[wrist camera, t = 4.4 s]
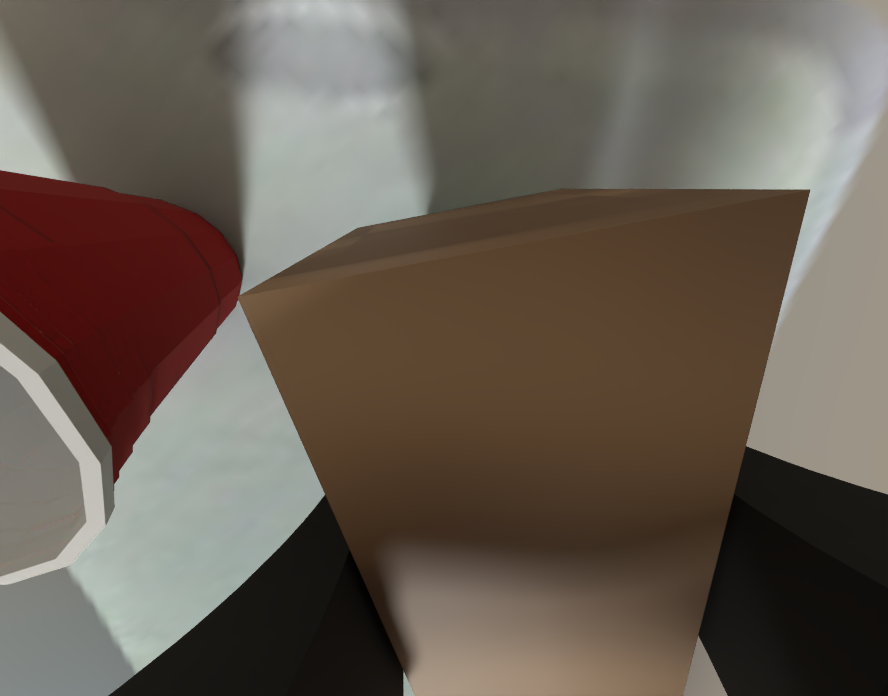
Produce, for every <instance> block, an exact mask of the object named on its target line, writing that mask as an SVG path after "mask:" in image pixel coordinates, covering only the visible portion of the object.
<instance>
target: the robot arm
mask: <svg viewBox="0 0 888 696" xmlns="http://www.w3.org/2000/svg"><path fill="white" fill-rule="evenodd" d="M698 636H699V638H700V639H701V641H702V643H703V645H704V647H705V649H706V651H707V653H708V655H709V657H710V659H711V662H712V663H713V666H714V668H715V670H716V672H717V674H718V676H719V678H720V680H721V682H722V684H723V687H724V688H725V691H726V693H727V695H728V696H888V495H887V494H884V493H881V492H877V491H873V490H871V489H867V488H864V487H861V486H857V485H854V484H851V483H848V482H845V481H842V480H839V479H836V478H833V477H829V476H827V475H823V474H820V473H817V472H814V471H811V470H808V469H805V468H803V467H800V466H797V465H794V464H791V463H788V462H786V461H783V460H780V459H778V458H775V457H773V456H770V455H767V454H765V453H762V452H760V451H757V450H754V449H752V448H749V447H747V446H746V447H745V451H744V455H743V459H742V463H741V467H740V471H739V475H738V479H737V483H736V487H735V491H734V495H733V499H732V503H731V507H730V511H729V515H728V519H727V523H726V527H725V531H724V535H723V539H722V543H721V547H720V551H719V555H718V559H717V562H716V566H715V570H714V574H713V578H712V582H711V586H710V590H709V594H708V598H707V602H706V606H705V610H704V614H703V618H702V622H701V626H700V630H699V634H698ZM109 696H403V668H402V666H401V663H400V661H399V659H398V657H397V654H396V652H395V650H394V648H393V645H392V643H391V641H390V639H389V636H388V634H387V632H386V630H385V627H384V625H383V623H382V621H381V619H380V616H379V614H378V612H377V610H376V607H375V605H374V603H373V601H372V598H371V596H370V594H369V592H368V589H367V587H366V585H365V583H364V580H363V578H362V576H361V574H360V571H359V569H358V567H357V565H356V562H355V560H354V558H353V556H352V553H351V551H350V549H349V547H348V544H347V542H346V540H345V538H344V535H343V533H342V531H341V529H340V526H339V524H338V522H337V520H336V517H335V515H334V513H333V511H332V508H331V506H330V504H329V502H328V499H327V497H326V495H325V496H324V497H323V498H322V499H321V501H320V502H319V503H318V505H317V506H316V507H315V508H314V510H313V511H312V512H311V513H310V514H309V516H308V517H307V518H306V519H305V520H304V521H303V523H302V524H301V525H300V526H299V527H298V528H297V529H296V530H295V531H294V533H293V534H292V535H291V536H290V537H289V538H288V539H287V540H286V541H285V542H284V543H283V544H282V546H281V547H280V548H279V549H278V550H277V551H276V552H275V553H274V554H273V555H272V556H271V557H270V558H269V559H268V560H267V561H265V562H264V563H263V564H262V565H261V566H260V567H259V568H258V569H257V570H256V571H255V572H254V573H253V574H252V575H251V576H250V577H249V578H248V579H247V580H246V581H245V582H244V583H243V584H242V585H241V586H240V587H239V588H238V589H237V590H236V591H235V592H233V593H232V594H231V595H230V596H229V597H228V598H227V599H226V600H225V601H223V602H222V603H221V604H220V605H219V606H218V607H217V608H216V609H215V610H213V611H212V612H211V613H210V614H209V615H208V616H206V617H205V618H204V619H203V620H202V621H201V622H199V623H198V624H197V625H196V626H195V627H194V628H193V629H191V630H190V631H189V632H188V633H187V634H185V635H184V636H183V637H182V638H181V639H179V640H178V641H177V642H176V643H175V644H173V645H172V646H171V647H170V648H168V649H167V650H166V651H165V652H163V653H162V654H161V655H160V656H158V657H157V658H156V659H154V660H153V661H152V662H151V663H149V664H148V665H147V666H146V667H144V668H143V669H142V670H141V671H139V672H138V673H137V674H136V675H134V676H133V677H132V678H131V679H129V680H128V681H127V682H126V683H124V684H123V685H122V686H121V687H119V688H118V689H117V690H115V691H114V692H113V693H111V694H110V695H109Z"/></svg>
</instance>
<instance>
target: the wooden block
mask: <svg viewBox="0 0 888 696" xmlns="http://www.w3.org/2000/svg"><path fill="white" fill-rule="evenodd" d="M809 193H810V190H755V189H558V190H553V191H548V192H542V193H537V194H532V195H527V196H522V197H516V198H511V199H506V200H501V201H495V202H490V203H485V204H480V205H475V206H469V207H464V208H459V209H454V210H448V211H443V212H438V213H433V214H428V215H422V216H417V217H412V218H407V219H401V220H396V221H391V222H386V223H381V224H375V225H370V226H365V227H360V228H357V229H355V230H353V231H351V232H350V233H348V234H346V235H344V236H343V237H341V238H339V239H337V240H336V241H334V242H332V243H330V244H329V245H327V246H325V247H324V248H322V249H320V250H318V251H317V252H315V253H313V254H311V255H310V256H308V257H306V258H304V259H303V260H301V261H299V262H297V263H296V264H294V265H292V266H290V267H289V268H287V269H285V270H283V271H282V272H280V273H278V274H276V275H275V276H273V277H271V278H269V279H268V280H266V281H264V282H263V283H261V284H259V285H257V286H256V287H254V288H252V289H250V290H249V291H247V292H245V293H243V294H242V295H240V296H238V299H239V302H240V304H241V306H242V308H243V311H244V313H245V315H246V317H247V320H248V322H249V324H250V326H251V329H252V331H253V333H254V335H255V338H256V340H257V342H258V344H259V347H260V349H261V351H262V353H263V356H264V358H265V360H266V362H267V365H268V367H269V369H270V371H271V374H272V376H273V378H274V380H275V383H276V385H277V387H278V389H279V392H280V394H281V396H282V398H283V401H284V403H285V405H286V407H287V410H288V412H289V414H290V416H291V419H292V421H293V423H294V425H295V428H296V430H297V432H298V434H299V437H300V439H301V441H302V443H303V446H304V448H305V450H306V452H307V455H308V457H309V459H310V461H311V463H312V466H313V468H314V470H315V472H316V475H317V477H318V479H319V481H320V484H321V486H322V488H323V490H324V493H325V495H326V497H327V499H328V502H329V504H330V506H331V508H332V511H333V513H334V515H335V517H336V520H337V522H338V524H339V526H340V529H341V531H342V533H343V535H344V538H345V540H346V542H347V544H348V547H349V549H350V551H351V553H352V556H353V558H354V560H355V562H356V565H357V567H358V569H359V571H360V574H361V576H362V578H363V580H364V583H365V585H366V587H367V589H368V592H369V594H370V596H371V598H372V601H373V603H374V605H375V607H376V610H377V612H378V614H379V616H380V619H381V621H382V623H383V625H384V627H385V630H386V632H387V634H388V636H389V639H390V641H391V643H392V645H393V648H394V650H395V652H396V654H397V657H398V659H399V661H400V663H401V666H402V668H403V670H404V672H405V675H406V677H407V679H408V681H409V684H410V686H411V688H412V690H413V693H414V695H415V696H683V693H684V689H685V686H686V682H687V677H688V674H689V669H690V666H691V662H692V658H693V654H694V650H695V646H696V642H697V638H698V634H699V630H700V626H701V622H702V618H703V614H704V610H705V606H706V602H707V598H708V594H709V590H710V586H711V582H712V578H713V574H714V570H715V566H716V562H717V559H718V555H719V551H720V547H721V543H722V539H723V535H724V531H725V527H726V523H727V519H728V515H729V511H730V507H731V503H732V499H733V495H734V491H735V487H736V483H737V479H738V475H739V471H740V467H741V463H742V459H743V455H744V451H745V447H746V443H747V439H748V435H749V431H750V427H751V423H752V419H753V415H754V412H755V408H756V403H757V399H758V396H759V392H760V388H761V384H762V380H763V376H764V372H765V368H766V364H767V360H768V356H769V352H770V348H771V344H772V340H773V336H774V332H775V328H776V324H777V320H778V316H779V312H780V308H781V304H782V300H783V296H784V292H785V288H786V284H787V280H788V276H789V272H790V269H791V265H792V261H793V257H794V253H795V249H796V245H797V241H798V237H799V233H800V229H801V225H802V221H803V217H804V213H805V209H806V205H807V201H808V197H809Z"/></svg>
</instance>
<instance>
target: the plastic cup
mask: <svg viewBox="0 0 888 696" xmlns="http://www.w3.org/2000/svg"><path fill="white" fill-rule="evenodd" d="M241 283H242V276H241V272H240V268H239V264H238V260H237V256H236V254H235V253H234V251H233V250H232V248H231V247H230V245H229V244H228V242H227V241H226V239H225V238H224V236H223V235H222V233H221V232H219V231H218V230H217V229H216V228H215V227H213V226H212V225H211V224H210V223H208V222H207V221H206V220H205V219H203V218H202V217H201V216H200V215H198V214H196V213H193V212H191V211H188V210H186V209H183V208H180V207H178V206H175V205H173V204H170V203H168V202H165V201H162V200H159V199H153V198H146V197H140V196H134V195H128V194H122V193H117V192H115V191H112V190H110V189H107V188H104V187H97V186H91V185H85V184H79V183H73V182H67V181H61V180H55V179H49V178H43V177H37V176H31V175H25V174H19V173H13V172H7V171H1V170H0V585H2V584H3V585H6V584H11V583H14V582H17V581H21V580H24V579H27V578H30V577H34V576H37V575H40V574H43V573H47V572H50V571H53V570H56V569H59V568H63V567H66V566H69V565H72V564H73V562H74V561H75V560H76V559H77V558H78V557H79V556H80V554H81V553H82V552H83V551H84V550H85V549H86V548H87V547H88V545H89V544H90V543H91V542H92V541H93V540H94V539H95V537H96V536H97V535H98V534H99V533H100V532H101V531H102V529H103V528H104V527H105V526H106V524H107V522H108V520H109V518H110V516H111V514H112V512H113V509H114V507H115V505H114V484H115V482H116V481H117V479H118V478H119V470H120V469H121V468H122V466H123V465H124V463H125V462H126V461H127V459H128V458H129V456H130V455H131V454H132V452H133V444H134V443H135V442H136V440H137V439H138V438H139V436H140V435H141V434H142V432H143V431H144V430H145V428H146V427H147V426H148V424H149V423H150V416H151V415H152V414H153V412H154V411H155V410H156V408H157V407H158V406H159V405H160V403H161V402H162V401H163V400H164V398H165V397H166V396H167V395H168V393H169V392H170V391H171V389H172V388H173V387H174V386H175V384H176V383H177V382H178V381H179V379H180V378H181V377H182V376H183V374H184V373H185V372H186V371H187V369H188V368H189V367H190V365H191V364H192V363H193V362H194V360H195V359H196V358H197V357H198V355H199V354H200V353H201V352H202V350H203V349H204V348H205V346H206V345H207V344H208V343H209V341H210V340H211V339H212V338H213V336H214V335H215V334H216V331H217V328H218V327H219V326H220V325H221V324H222V323H223V321H224V320H225V319H226V318H227V316H228V315H229V314H230V313H231V311H232V310H233V309H234V308H235V307H236V303H237V301H238V296H239V294H240V288H241Z"/></svg>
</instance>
